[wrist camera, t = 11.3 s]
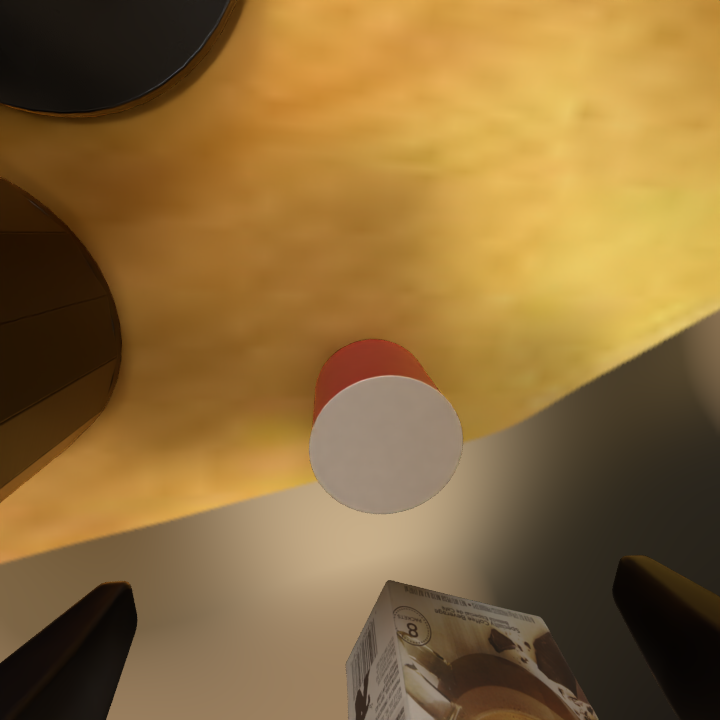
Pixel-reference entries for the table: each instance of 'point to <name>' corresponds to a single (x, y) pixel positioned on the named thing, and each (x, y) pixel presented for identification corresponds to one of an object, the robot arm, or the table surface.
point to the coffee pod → (381, 430)
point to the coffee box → (457, 663)
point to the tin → (49, 338)
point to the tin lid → (101, 51)
